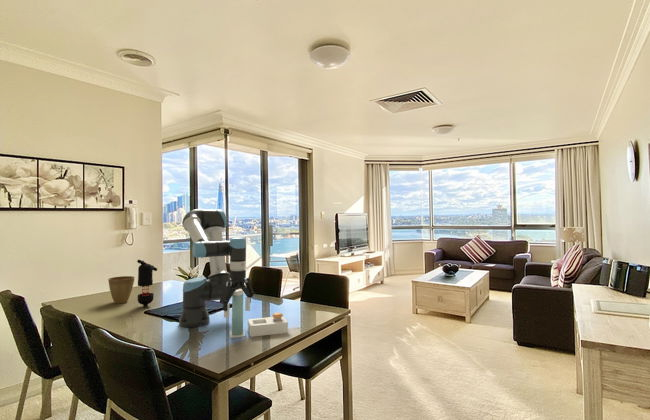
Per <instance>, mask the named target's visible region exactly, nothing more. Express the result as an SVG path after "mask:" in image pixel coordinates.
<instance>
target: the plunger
mask: <svg viewBox="0 0 650 420" xmlns="http://www.w3.org/2000/svg"><path fill="white" fill-rule="evenodd" d="M283 315H284V314H283V313H282V312H274V313H272V317H273V318H274V322H275V321H281V317H283Z"/></svg>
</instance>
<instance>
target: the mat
mask: <svg viewBox="0 0 650 420" xmlns="http://www.w3.org/2000/svg"><path fill="white" fill-rule="evenodd" d="M245 331H246V330H245V329H243V334H241V335H232V330H229V337H230V338H229V339H236V338H245V337H246V332H245Z"/></svg>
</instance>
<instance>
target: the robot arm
mask: <svg viewBox="0 0 650 420" xmlns="http://www.w3.org/2000/svg"><path fill="white" fill-rule="evenodd" d="M227 221H228V219H227V215H226V213H225V211H223V210H222V209H217V208H213V209H212V208H211V209H207V208H206V209H205V208H204V209H203V208H202V209H200V208H196V209H192V210H190V211H188V212H186V213H185V215H184V216H183V218H182V226H183V229H184V230H185V231H186V232H188V234H189V237H190V238H191V240H192V242H193V244H192V247H191V248H192V256H193V257H194V258H201V259H203V258H208V259H209V269H210V275H208V277H205V276H201V277H193V278H190V279H187V280H185V281H184V283H182V284H183V285H182V309H181V310H182V312H181V314H180V317H179V319H178V325H179V326H180V327H183V328H198V327H202V326H205V325H207V324H209V323H210V321H211V319H210V315H209V312H208V309H207V302H214V301H219V303H220V304H222V310H223V318H226V319H230V303H229V302H230V301H231V300H232V295H233V293H234V292H235V291H239V290H241V291H243V294H245V296H246V297H244V299H245V301H244V304H245V305H244V310H245V311H248V312H250V311H251V303H252V298H253V297H254V295H255V292H254V289H253V287H252V284H251V279H250V277H246V276H247V270H246V268H247V265H246V264H247V239H246V238H245V237H232V238H230V240H229V239H227V240H224V237H223V233H224V231H225V229H226V227H227V226H228V222H227ZM226 257H229V272H228V271H227V263H226V262H227V261H226ZM207 278H208V279H207Z"/></svg>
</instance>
